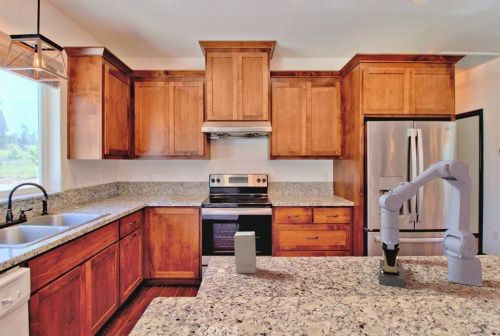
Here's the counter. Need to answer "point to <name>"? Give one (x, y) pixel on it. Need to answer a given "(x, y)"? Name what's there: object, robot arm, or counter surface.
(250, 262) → the skincare box
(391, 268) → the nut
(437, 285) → the counter surface
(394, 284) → the grey piece
